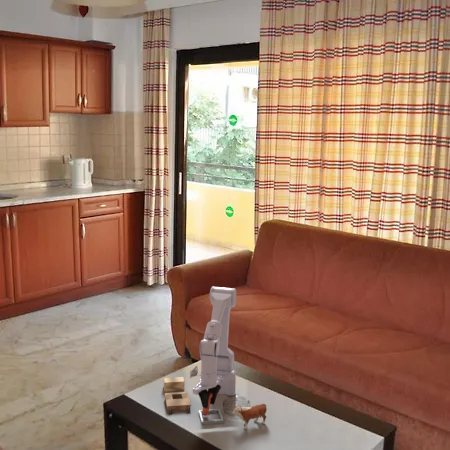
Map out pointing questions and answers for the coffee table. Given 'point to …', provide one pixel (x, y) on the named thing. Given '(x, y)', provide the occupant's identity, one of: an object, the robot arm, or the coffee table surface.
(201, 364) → the robot arm
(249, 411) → the bull figurine
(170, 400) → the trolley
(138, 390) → the coffee table surface
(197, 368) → the bracket
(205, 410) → the pin
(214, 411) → the grey square frame
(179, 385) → the block
